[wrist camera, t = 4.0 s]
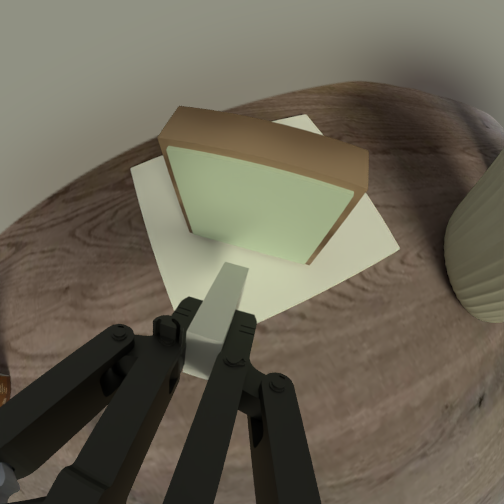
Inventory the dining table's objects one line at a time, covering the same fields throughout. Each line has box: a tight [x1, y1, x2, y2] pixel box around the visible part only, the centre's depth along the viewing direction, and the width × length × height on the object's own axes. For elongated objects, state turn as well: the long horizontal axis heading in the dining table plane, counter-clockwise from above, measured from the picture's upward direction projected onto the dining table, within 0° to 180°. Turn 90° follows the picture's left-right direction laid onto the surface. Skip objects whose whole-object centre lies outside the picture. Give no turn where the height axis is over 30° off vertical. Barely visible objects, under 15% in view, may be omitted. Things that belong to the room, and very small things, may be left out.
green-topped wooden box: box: [157, 106, 369, 265], centre depth 17 cm, size 3×10×11 cm, turn 74°
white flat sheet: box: [130, 114, 400, 323], centre depth 23 cm, size 20×18×1 cm
